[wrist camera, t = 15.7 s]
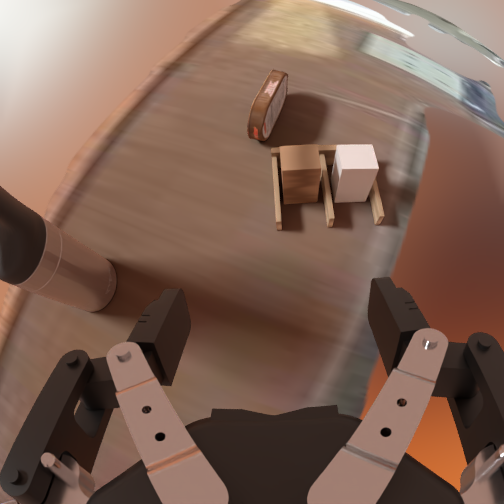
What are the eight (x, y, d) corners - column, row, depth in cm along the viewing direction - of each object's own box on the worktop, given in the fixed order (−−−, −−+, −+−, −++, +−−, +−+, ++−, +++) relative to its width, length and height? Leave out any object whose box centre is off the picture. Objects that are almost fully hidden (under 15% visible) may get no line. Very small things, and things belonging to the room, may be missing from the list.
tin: (276, 93, 55) (273, 60, 47) (291, 95, 54) (290, 62, 46) (248, 148, 51) (241, 114, 43) (266, 152, 50) (261, 118, 42)
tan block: (283, 204, 46) (282, 170, 38) (282, 182, 48) (279, 146, 39) (316, 202, 46) (321, 168, 37) (313, 180, 47) (317, 144, 39)
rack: (277, 230, 45) (275, 218, 41) (272, 163, 49) (271, 147, 45) (379, 224, 43) (386, 212, 40) (364, 159, 47) (369, 144, 44)
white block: (334, 202, 45) (342, 169, 37) (330, 180, 47) (336, 144, 38) (365, 201, 45) (378, 168, 36) (360, 179, 46) (372, 144, 38)
